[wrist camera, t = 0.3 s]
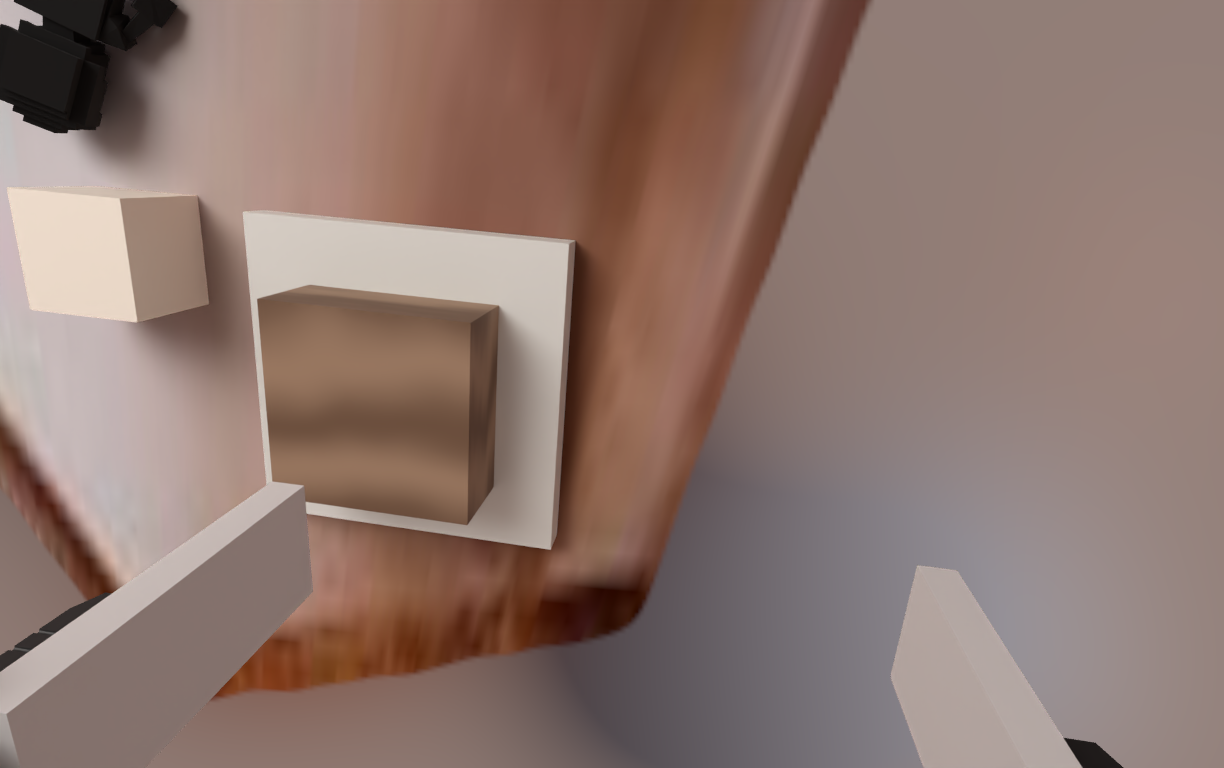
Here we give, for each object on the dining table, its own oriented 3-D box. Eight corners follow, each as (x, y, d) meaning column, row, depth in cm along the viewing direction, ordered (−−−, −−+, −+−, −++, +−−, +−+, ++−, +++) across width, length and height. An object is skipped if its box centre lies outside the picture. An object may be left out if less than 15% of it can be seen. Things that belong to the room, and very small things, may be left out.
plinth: (263, 210, 42) (242, 211, 40) (575, 240, 40) (568, 243, 38) (285, 495, 48) (268, 508, 46) (557, 534, 46) (550, 549, 44)
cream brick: (99, 185, 43) (6, 187, 37) (198, 195, 42) (119, 198, 37) (115, 293, 45) (30, 309, 40) (210, 303, 44) (137, 322, 39)
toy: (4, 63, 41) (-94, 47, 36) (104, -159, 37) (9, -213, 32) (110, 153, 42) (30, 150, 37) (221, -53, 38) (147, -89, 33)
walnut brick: (309, 284, 41) (256, 298, 36) (498, 305, 39) (470, 322, 35) (319, 463, 44) (273, 497, 40) (493, 487, 43) (467, 525, 38)
